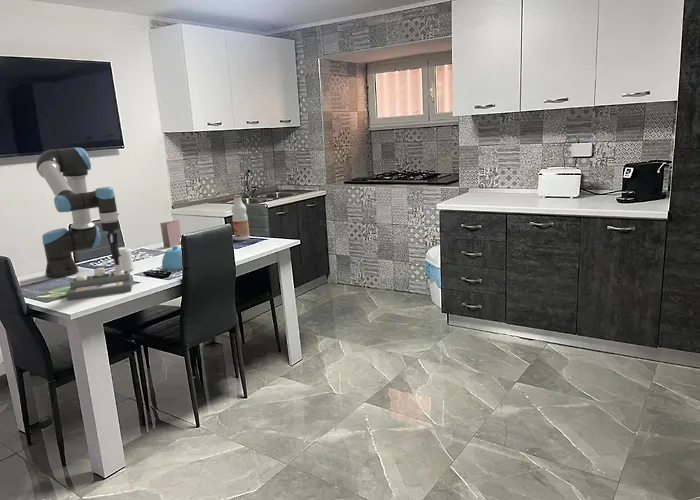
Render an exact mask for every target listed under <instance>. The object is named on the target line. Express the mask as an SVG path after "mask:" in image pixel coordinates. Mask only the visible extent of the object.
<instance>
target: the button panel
mask: <svg viewBox="0 0 700 500" xmlns="http://www.w3.org/2000/svg"><path fill="white" fill-rule="evenodd" d="M105 274H106V275H104V276H100V277H95V274H94V275H86V276H87V280H80V281H76V277H73V278H71V280H70V281H69V285H70V287H69V289H68V291H67V292H66V293H65V294H66V300H67V301H74V300H81V299H87V298H94V297H100V296H101V297H102V296H108V295H114V294H121V293H128V292H132V288H133V283H134V277H133V274H131V271H130V270H129V271H124V274H122V275H115V276H114V272H108V273H105Z"/></svg>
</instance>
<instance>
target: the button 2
mask: <svg viewBox="0 0 700 500" xmlns="http://www.w3.org/2000/svg"><path fill="white" fill-rule="evenodd" d="M113 273H114V276H115V275H122V274H124V270H122V271H118V272H115V271H113Z"/></svg>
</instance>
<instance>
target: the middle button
mask: <svg viewBox="0 0 700 500" xmlns="http://www.w3.org/2000/svg"><path fill="white" fill-rule="evenodd" d="M93 271H94V275H95V277H100V276H104V275H106V274H107V273H106V270H105V267H97V268H95V269H93Z"/></svg>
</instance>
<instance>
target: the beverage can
mask: <svg viewBox="0 0 700 500" xmlns="http://www.w3.org/2000/svg"><path fill="white" fill-rule="evenodd" d="M118 248H119V253H120V254H119V255H121V256H119V257H120V262H121V268H122V270H124V271H129V270H130V272H131V271H133V270H134V269H135V267H134V261H133V256H132V249H131V248H130V247H129V246H120V247H118Z"/></svg>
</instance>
